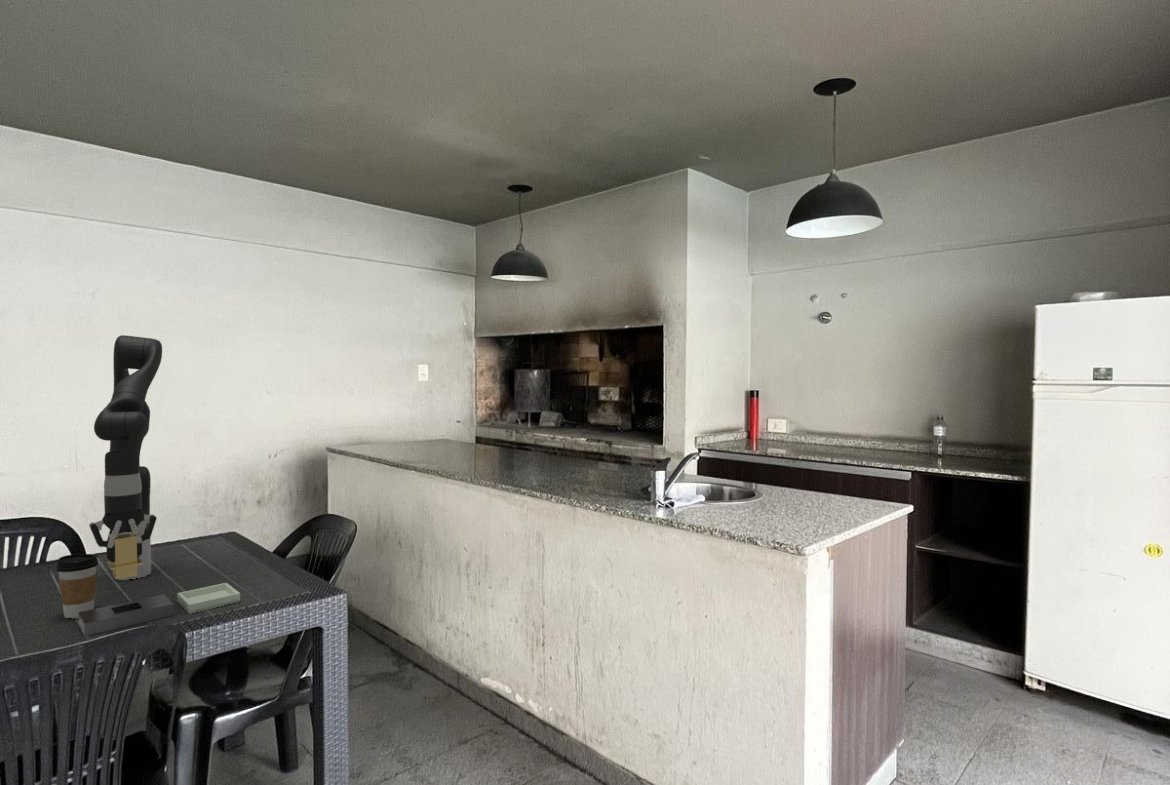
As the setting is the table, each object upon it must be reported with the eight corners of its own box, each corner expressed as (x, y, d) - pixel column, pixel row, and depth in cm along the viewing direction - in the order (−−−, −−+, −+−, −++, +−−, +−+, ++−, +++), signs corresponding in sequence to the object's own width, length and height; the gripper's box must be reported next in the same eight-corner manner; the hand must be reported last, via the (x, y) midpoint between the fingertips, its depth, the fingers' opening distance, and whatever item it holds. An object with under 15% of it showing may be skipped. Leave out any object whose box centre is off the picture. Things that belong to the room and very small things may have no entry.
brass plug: (107, 575, 159) (106, 535, 159) (137, 569, 164) (137, 531, 163) (111, 581, 155) (110, 541, 154) (143, 575, 159) (142, 536, 159)
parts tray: (177, 602, 171) (177, 593, 171) (226, 591, 180) (226, 582, 180) (189, 614, 163) (189, 604, 163) (240, 602, 171) (240, 593, 171)
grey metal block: (78, 624, 157) (78, 612, 156) (164, 605, 169) (164, 594, 169) (84, 636, 150) (84, 623, 149) (173, 615, 162) (173, 603, 162)
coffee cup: (73, 608, 167) (71, 552, 166) (107, 607, 167) (105, 551, 167) (49, 621, 158) (47, 562, 158) (85, 620, 159) (83, 561, 159)
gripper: (153, 486, 166) (155, 550, 167) (84, 493, 156) (86, 562, 156) (160, 490, 160) (161, 557, 161) (89, 498, 150) (91, 569, 151)
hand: (124, 559), depth 159 cm, fingers closed on brass plug, 4 cm apart
